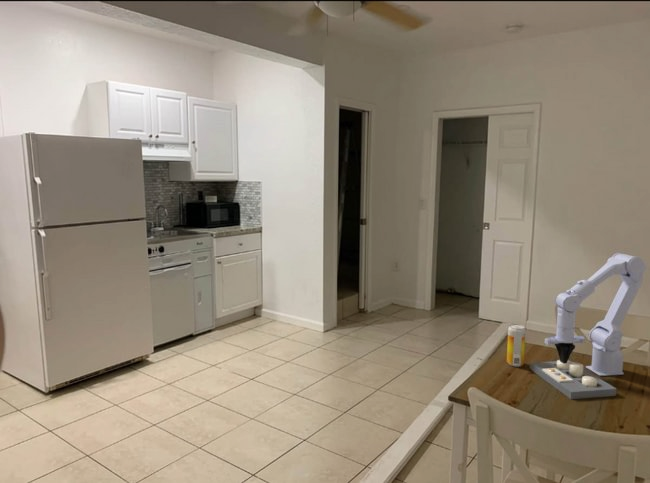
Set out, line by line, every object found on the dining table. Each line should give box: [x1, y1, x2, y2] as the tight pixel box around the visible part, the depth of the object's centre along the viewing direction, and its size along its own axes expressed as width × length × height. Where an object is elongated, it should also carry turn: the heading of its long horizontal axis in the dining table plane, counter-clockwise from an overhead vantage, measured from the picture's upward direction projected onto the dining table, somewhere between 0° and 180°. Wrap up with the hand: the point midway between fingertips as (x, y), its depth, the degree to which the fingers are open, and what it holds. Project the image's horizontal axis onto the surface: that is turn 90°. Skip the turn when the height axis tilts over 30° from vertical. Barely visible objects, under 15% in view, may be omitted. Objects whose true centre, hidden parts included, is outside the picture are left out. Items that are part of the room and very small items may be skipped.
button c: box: [582, 376, 597, 387], centre depth 156 cm, size 4×4×4 cm
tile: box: [542, 368, 573, 383], centre depth 162 cm, size 5×10×1 cm, turn 7°
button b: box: [569, 361, 585, 378], centre depth 163 cm, size 4×4×4 cm
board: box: [529, 359, 618, 400], centre depth 163 cm, size 16×24×2 cm, turn 7°
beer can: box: [506, 324, 526, 368], centre depth 177 cm, size 6×6×15 cm
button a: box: [556, 359, 570, 370], centre depth 170 cm, size 4×4×4 cm
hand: (563, 362), depth 170 cm, fingers closed, pressing on button a
